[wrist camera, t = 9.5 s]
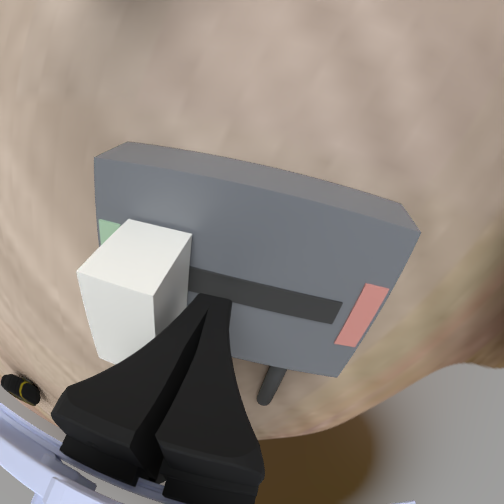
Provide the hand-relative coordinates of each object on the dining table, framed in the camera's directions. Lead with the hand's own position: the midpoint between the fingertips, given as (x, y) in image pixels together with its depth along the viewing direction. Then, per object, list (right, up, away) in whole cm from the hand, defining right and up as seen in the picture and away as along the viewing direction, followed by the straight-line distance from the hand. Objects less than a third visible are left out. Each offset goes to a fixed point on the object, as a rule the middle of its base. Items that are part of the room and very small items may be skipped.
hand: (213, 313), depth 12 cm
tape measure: (-39, -18, +24) cm, 50 cm away
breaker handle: (-3, +2, +1) cm, 4 cm away
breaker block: (+1, +2, +4) cm, 5 cm away
